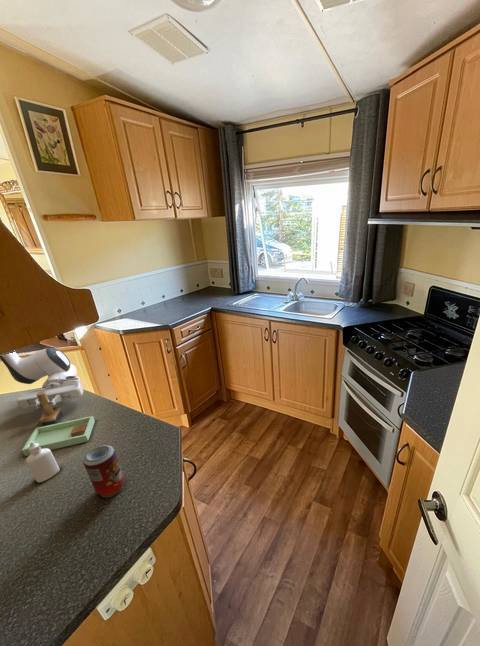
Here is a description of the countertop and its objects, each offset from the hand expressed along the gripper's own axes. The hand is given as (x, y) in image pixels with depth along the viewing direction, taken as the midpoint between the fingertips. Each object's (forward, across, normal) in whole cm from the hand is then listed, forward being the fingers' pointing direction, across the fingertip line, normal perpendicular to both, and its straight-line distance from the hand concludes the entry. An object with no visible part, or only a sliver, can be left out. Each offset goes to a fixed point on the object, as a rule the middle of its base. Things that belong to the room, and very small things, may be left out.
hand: (45, 405), depth 102 cm
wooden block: (+11, +11, +7) cm, 17 cm away
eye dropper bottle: (+29, +7, +8) cm, 31 cm away
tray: (+11, +6, +8) cm, 15 cm away
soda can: (+41, +25, +8) cm, 49 cm away
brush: (-1, 0, +7) cm, 7 cm away
